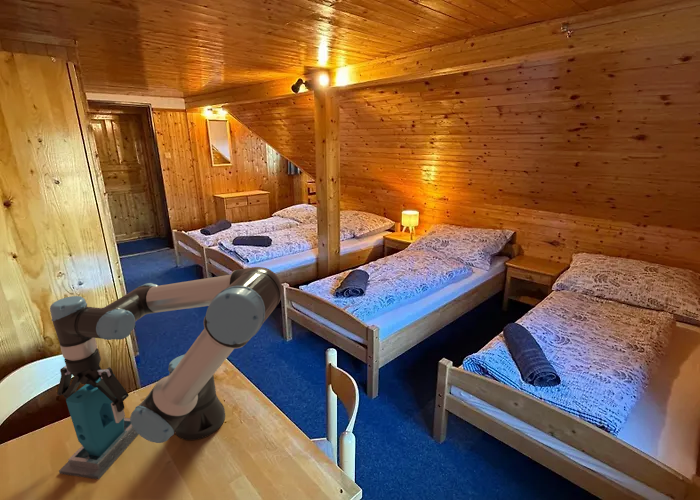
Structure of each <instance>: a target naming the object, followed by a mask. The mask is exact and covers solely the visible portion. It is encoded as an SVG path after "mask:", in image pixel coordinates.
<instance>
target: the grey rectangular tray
mask: <svg viewBox="0 0 700 500" xmlns="http://www.w3.org/2000/svg"><path fill="white" fill-rule="evenodd" d="M138 436H140V435H139V434H138V433H137V432H136V431H135V430H134V428H133V426H132V425H131V421H130V417H124V432H123V433H122V434H121V435H120V436H119V437H118V438H117V439H116V440H115V441H114V442H113V444H112V445H111V446H110V447H109V448H108V449H107V450H106V451H105V452H104V453H103V454H102V455H101V456H100V457H99V456H94V455H90V454H89V453H88V452H87V451H86V450H85V448H84V447H83V446H82V445H81V446H80V448H78V449H77V450H76V451H75V452H74V453H73V454H72V455H71V456H70V457H69V458H68V461H67V462H66V463H65V464H64V465H63V466H62V467H61V468H60V469H59V470H58V472H59V473H58V474H61V475H67V476H73V477H79V478H80V477H81V478H87V479H92V480H93V479H94V480H100V479H101V478H102V477H103V475H104V474H105V473H106V472H107V471H108V470H109V468H111V466H112V465H113V464H114V463H115V461H117V460H118V458H119V457H121V455H122V454H123V453H124V452H125V450H126V449H127V448H128V447H129V446H130V445H131V443H133V441H134V440H135V439H136V438H137V437H138Z"/></svg>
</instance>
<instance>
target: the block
mask: <svg viewBox="0 0 700 500" xmlns="http://www.w3.org/2000/svg"><path fill="white" fill-rule="evenodd" d="M100 380H101V378H99V379H98V381H96V383H98V382H99V381H100ZM115 398H116V397H115ZM65 402H66V405H67V409H68V412H69V415H70V418H71V422H72V425H73V428H74V431H75V435H76V437H77V441H78V442H79V444H80V445H81V447H82V446H83V447H84V448H85V450H86V451H87V452H88V453H89V454H90V455H94V456H99V457H100V456H101V455H102V454H103V453H104V452H105V451H106V450H107V449H108V448H109V447H110V446H111V445H112V444H113V442H114V441H115V440H116V439H117V438H118V437H119V436H120V435H121V434H122V433H123V432H124V418H125V417H124V418H123V419H122V420H121V421H120V422H119V423H116V421H115V418H114V414H113V410H112V406H111V403H112V401H111V400H110V399H109V398H108V397H107V396H106V395H105V394H104V393H103V392H101V391H100V390H99V389H98V388H97V387H96V388H95V387H93V386H92V385H89V384H83V386H81V387H80V388H78V390H76V391H75V392H74V394H72V395H71V396H70V397H68V398H67V399H66V398H65Z"/></svg>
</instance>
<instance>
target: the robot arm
mask: <svg viewBox="0 0 700 500" xmlns="http://www.w3.org/2000/svg"><path fill="white" fill-rule="evenodd" d="M282 296H283V284H282V282H281V280H280V277H279V276H278V275H277V274H276V273H275V272H274V271H272V270H271V269H269V268H267V267H263V266H253V267H246V268H240V269H234V270H233V271H232V272H231V273H230V274H226V275H221V276H214V277H213V276H212V277H207V278H206V277H205V278H201V279H194V280H188V281H186V280H185V281H181V282H175V283H169V284H162V285H158V284H156V283H153V282H146V283H144V284H142V285H139V286H137V287H136V288H134V289H133V290H131V291H130V292H128V293H127V294H125V295H123V296H122V297H120V298H118V299H115V301H113V302H111V303H109V304H108V305H106V306H104V307H95V306H93V307H92V306H88V303H87V301H86V299H85V298H84V297H83V296H79V295H72V296H67V297H64V298H63V297H62V298H61V299H58V300H55V301H54V302H53V303H51V305H50V306H49V310H50V311H49V312H50V316H51V322H52V323H53V328H54V330H55V334H56V337H57V339H58V343H59V347H60V350H61V353H62V357H63V358H64V363H65V366H63V367H61V368H60V370H59V371H60V379H59V385H58V389H57V395H58V396H63V398H64V399H65V400H66V399H67V398H68V397H70V396H71V395H72V394H74V393H75V392H76V391H77V389H79V388H78V387H79V386H80V385H86V384H89V385H92V386H93V387H95V388H96V387H97V388H98V389H99V390H100V391H101V392H103V393H104V394H105V395H106V396H107V397H108V398H109V399H110V400H111V401H112V403H111V406H112V410H113V414H114V418H115V421H116V423H119V422H120V421H121V420H122V419H123V418H126V414H125V410H124V409H125V403H124V401H126V399H127V398H129V393H128V392H127V390H126V389H125V387H124V386H123V385H122V384H121V382H120V381H119V380H118V378H117V377H116V375H115V374H114V372H113V369H112V368H111V367H108V368H106V369H102V368H101V366H100V363H101V362H102V361H101V360H102V357H101V355H100V350H99V348H98V345H97V339H100V340H101V339H102V340H107V341H113V340H117V341H119V340H125V339H126V338H128V337H129V336H130V335H131V332H132V331H134V329H135V326H136V322H137V321H138V320H140V319H141V318H143V317H144V316H145V315H149V314H157V313H162V312H171V311H177V310H185V309H195V308H202V307H207V308H206V313H205V316H204V318H203V328H204V329H203V330H202V331H201V332H200V334H199V335H198V336H197V338H196V339H195V340H194V342H193V343H192V345H191V346H190V348H188V350H187V351H186V353H184V354H182V355H180V356H176V357H175V358H173V359H172V360H171V361H170V362H169V364H168V372H169V374H168V375H167V376H164V377H162V378H160V379H159V380H158V381H157V382H156V383H155V385H154V386H153V387H152V388H151V390H150V392H149V393H148V394H147V396H146V397H145V398H144V399H143V400H142V401H141V402H140V404H138V405H136V406H135V407H134V410H133V411H132V412H131V414H130V417H129V418H130V421H131V425H132V426H133V428H134V430H135V431H136V432H137V433H138V434H139V435H138V436H140V437H141V438H143V439H144V440H146V441H148V442H149V443H150V442H151V443H156V444H163V443H165V442H167V441H168V440H170V438H171V437H173V436H174V434H175V435H176V437H178V438H180V439H182V440H186V441H195V440H201V439H204V438H207V437H209V436H210V435H212V434H214V433H215V432H216V431H218V429H220V428H221V427H222V425H223V424H224V422H225V420H226V410H225V407H224V405H223V403H222V401H220V399H219V397H218V395H217V390H216V384H215V376H214V375H215V374H216V372H217V371H218V370H219V368H220V367H221V366H222V365H223V363H224V362H225V361H226V359H228V357H230V355H231V353H232V352H233V351H234V350H236V349H240V348H243V347H244V346H245V345H246V344H248V343H249V341H250V340H251V339H252V338H253V337H254V336H256V334H257V333H259V331H260V330H261V327H262V326H263V324H264V322H265V323H266V321H267V319H268V318H269V317H270V315H271V314H272V313H273V311H274V310H276V308H277V307H278V305H279V303H280V301H281V300H282ZM72 377H73V379H72ZM99 378H101V380H100V381H99V382H98V383H96V381H98V379H99ZM115 397H116V398H115Z"/></svg>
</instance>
